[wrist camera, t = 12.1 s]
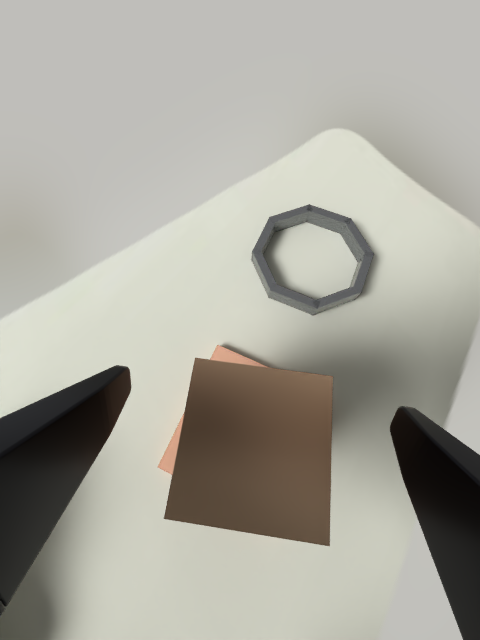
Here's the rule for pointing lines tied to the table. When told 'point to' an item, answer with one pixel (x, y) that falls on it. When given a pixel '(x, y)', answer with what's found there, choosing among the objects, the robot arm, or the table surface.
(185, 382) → the table surface
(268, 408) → the walnut block
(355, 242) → the metal ring
